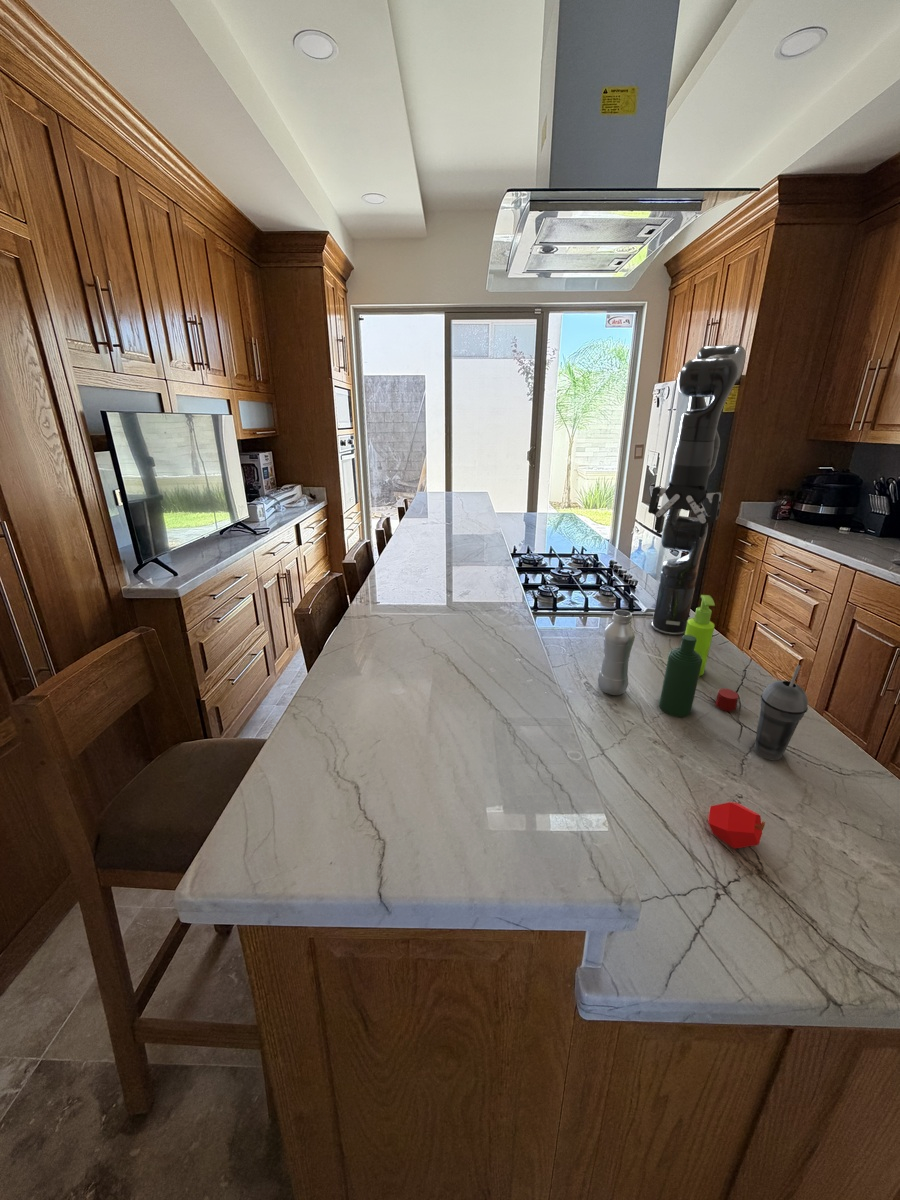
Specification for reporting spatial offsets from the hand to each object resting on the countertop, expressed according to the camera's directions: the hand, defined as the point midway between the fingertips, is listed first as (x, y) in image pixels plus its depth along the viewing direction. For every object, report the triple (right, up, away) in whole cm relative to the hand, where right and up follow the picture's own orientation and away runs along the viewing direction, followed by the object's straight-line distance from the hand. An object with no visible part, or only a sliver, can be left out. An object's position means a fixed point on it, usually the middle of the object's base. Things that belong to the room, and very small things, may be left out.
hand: (678, 535), depth 110 cm
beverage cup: (+9, -44, -17) cm, 48 cm away
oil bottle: (-2, -39, -3) cm, 39 cm away
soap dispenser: (+8, -33, +11) cm, 35 cm away
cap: (+9, -38, -3) cm, 39 cm away
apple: (-8, -52, -34) cm, 63 cm away
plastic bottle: (-14, -36, +3) cm, 39 cm away
